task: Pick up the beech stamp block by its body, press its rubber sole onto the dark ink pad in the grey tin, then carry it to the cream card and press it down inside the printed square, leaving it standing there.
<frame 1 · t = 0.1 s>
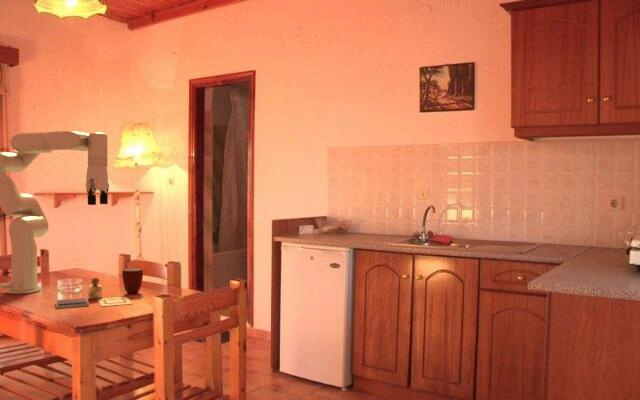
hand: (97, 204, 232), 37 cm above the table, tool pointing down, fingers open, 9 cm apart
ink pad: (72, 304, 211), on the table
card: (114, 302, 217), on the table
stamp: (95, 299, 223), on the table
mug: (131, 293, 236), on the table
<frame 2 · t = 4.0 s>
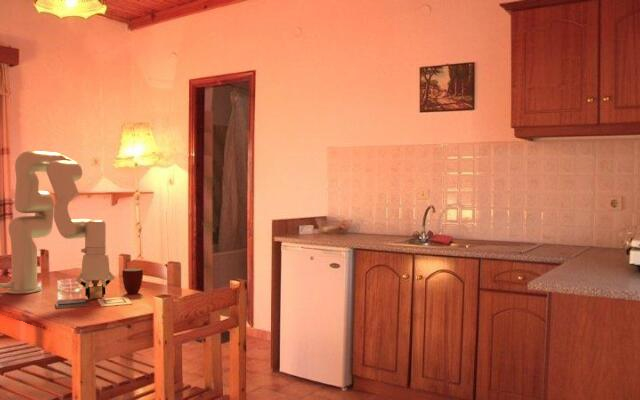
hand: (95, 296, 222), 1 cm above the table, tool pointing down, fingers closed on stamp, 4 cm apart
stamp: (95, 298, 223), on the table, touching gripper
everything else where it was.
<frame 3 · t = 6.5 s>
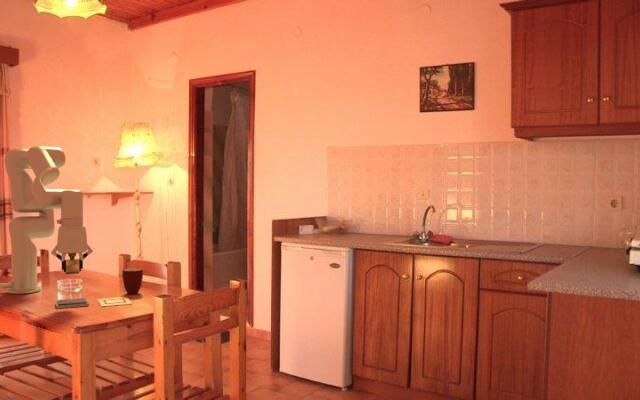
hand: (72, 270, 211), 13 cm above the table, tool pointing down, fingers closed on stamp, 4 cm apart
stamp: (72, 273, 211), point 12 cm above the table, touching gripper
everything else where it was.
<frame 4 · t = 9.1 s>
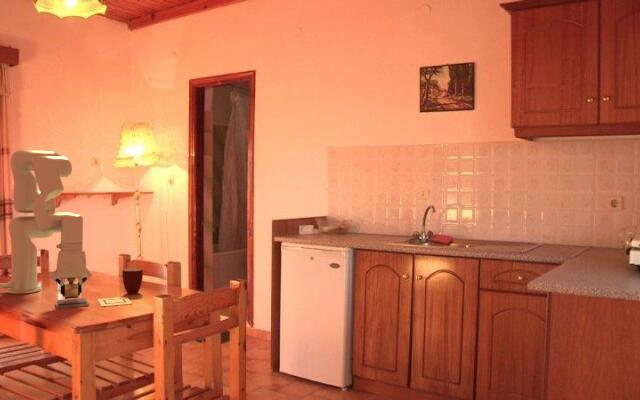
hand: (71, 294, 212), 4 cm above the table, tool pointing down, fingers closed on stamp, 4 cm apart
stamp: (71, 297, 212), point 3 cm above the table, touching gripper
everything else where it was.
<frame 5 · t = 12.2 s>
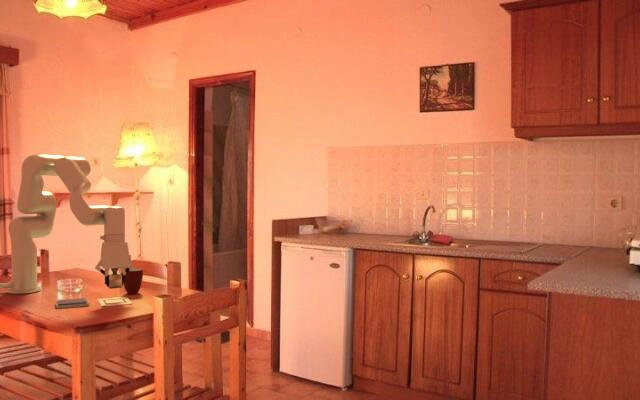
hand: (114, 285, 217), 7 cm above the table, tool pointing down, fingers closed on stamp, 4 cm apart
stamp: (114, 287, 217), point 6 cm above the table, touching gripper
everything else where it was.
when the fingers open (1 cm above the table, at t = 14.4 s): stamp stays where it is, resting on card.
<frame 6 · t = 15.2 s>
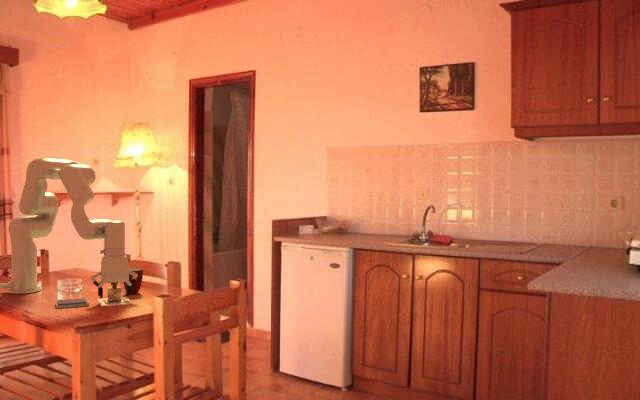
hand: (114, 296, 217), 2 cm above the table, tool pointing down, fingers open, 9 cm apart
stamp: (114, 301, 217), resting on card
everything else where it was.
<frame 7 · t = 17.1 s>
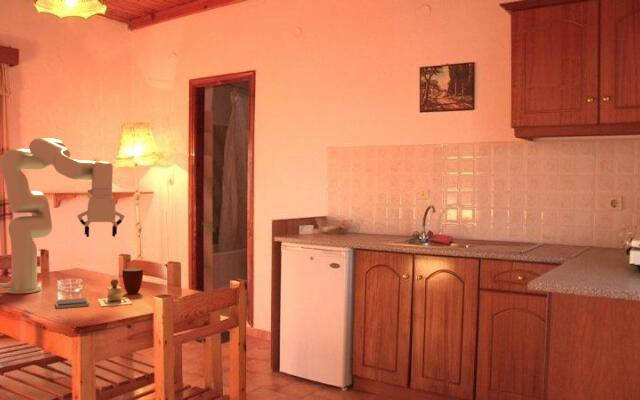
hand: (100, 236, 221), 25 cm above the table, tool pointing down, fingers open, 9 cm apart
nothing on the table moved.
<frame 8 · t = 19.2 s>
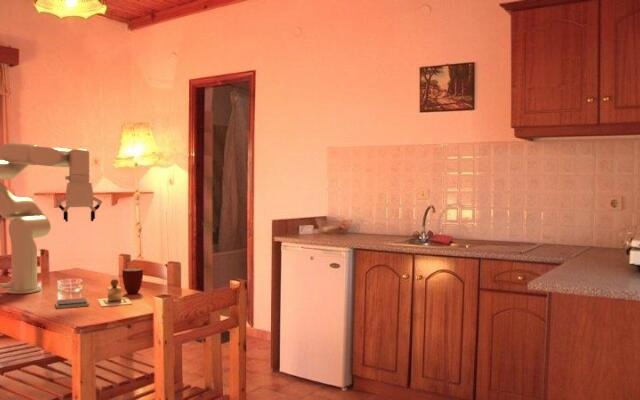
hand: (79, 221, 229), 30 cm above the table, tool pointing down, fingers open, 9 cm apart
nothing on the table moved.
at the end: stamp 0.2 cm off-centre on the card, point 0.3 cm above the card's base; stamp tilted 0°; the gripper is holding nothing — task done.
